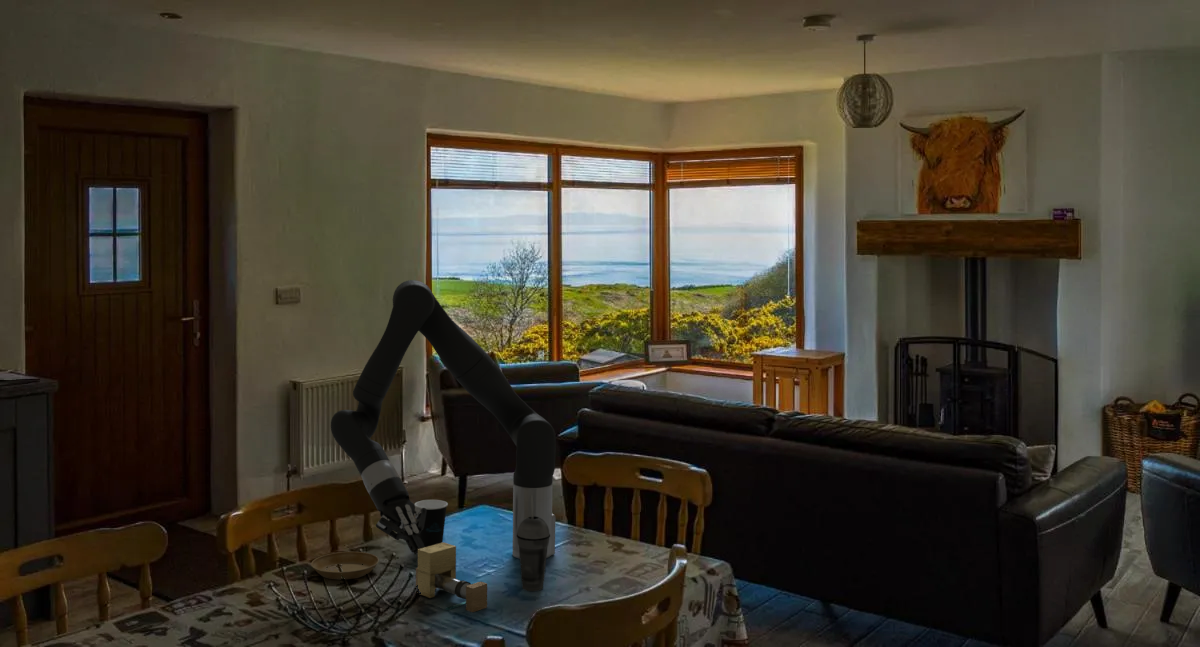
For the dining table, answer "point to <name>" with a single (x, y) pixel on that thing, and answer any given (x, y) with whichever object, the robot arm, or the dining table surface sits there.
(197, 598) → the dining table surface
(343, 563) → the plant saucer
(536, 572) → the beverage cup
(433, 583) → the wooden block arch
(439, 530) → the dixie cup
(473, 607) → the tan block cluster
